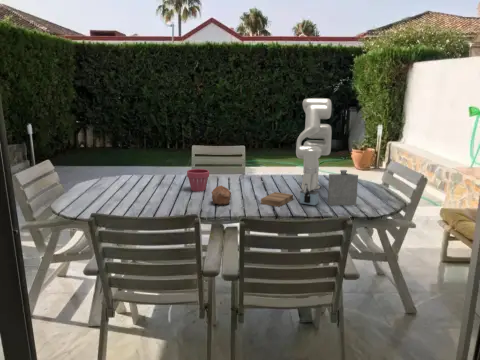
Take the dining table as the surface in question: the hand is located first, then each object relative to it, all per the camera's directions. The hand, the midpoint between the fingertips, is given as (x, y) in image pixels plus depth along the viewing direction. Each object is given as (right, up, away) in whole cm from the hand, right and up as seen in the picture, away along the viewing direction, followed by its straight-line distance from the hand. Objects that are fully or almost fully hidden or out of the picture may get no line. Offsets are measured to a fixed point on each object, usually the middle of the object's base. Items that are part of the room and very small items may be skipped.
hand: (308, 201), depth 231 cm
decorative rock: (-50, -2, +2) cm, 50 cm away
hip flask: (+19, -2, 0) cm, 19 cm away
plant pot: (-66, +5, +32) cm, 74 cm away
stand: (-18, -1, +6) cm, 19 cm away
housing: (0, -1, 0) cm, 1 cm away
